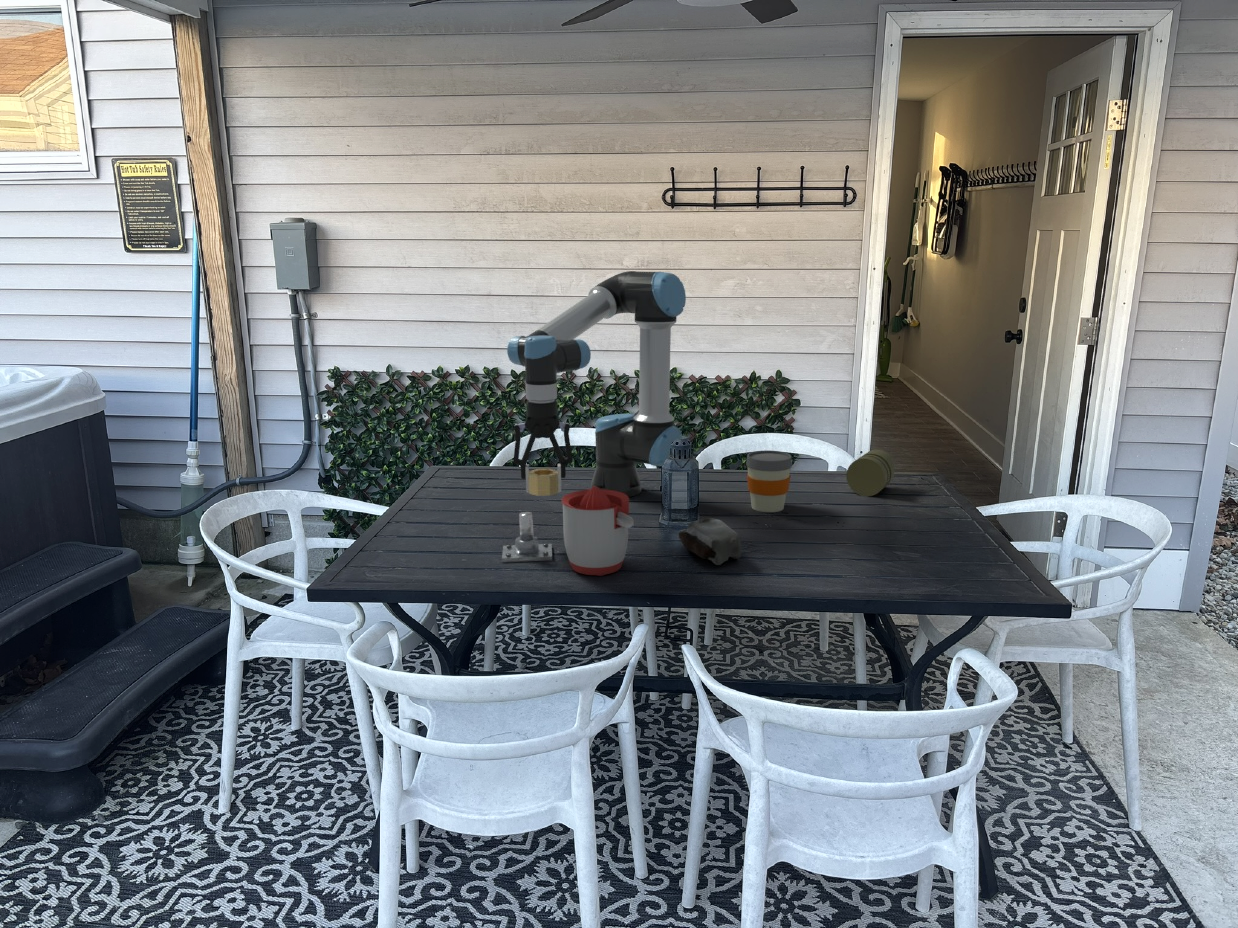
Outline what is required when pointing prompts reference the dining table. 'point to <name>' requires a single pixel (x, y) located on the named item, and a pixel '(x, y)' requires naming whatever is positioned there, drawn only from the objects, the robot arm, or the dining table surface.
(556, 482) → the hub
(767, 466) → the reusable coffee cup
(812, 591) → the dining table surface
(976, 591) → the dining table surface
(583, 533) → the citrus juicer
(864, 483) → the piston
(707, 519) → the dark grey lump
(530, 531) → the shaft stand
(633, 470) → the robot arm
